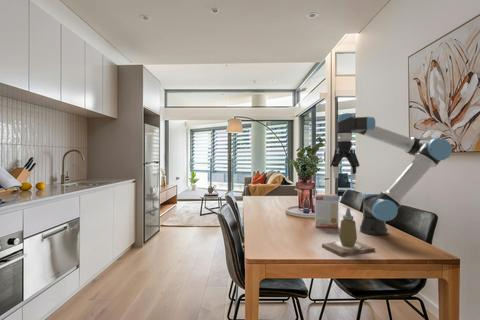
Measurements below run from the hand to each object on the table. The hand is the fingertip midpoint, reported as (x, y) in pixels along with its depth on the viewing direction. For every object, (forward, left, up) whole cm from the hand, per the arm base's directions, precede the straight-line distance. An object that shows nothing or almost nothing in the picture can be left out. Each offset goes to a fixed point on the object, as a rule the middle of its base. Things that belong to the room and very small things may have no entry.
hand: (344, 178), depth 159 cm
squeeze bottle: (+13, +18, -31) cm, 38 cm away
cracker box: (-5, -22, -33) cm, 40 cm away
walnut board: (+13, +18, -33) cm, 40 cm away
